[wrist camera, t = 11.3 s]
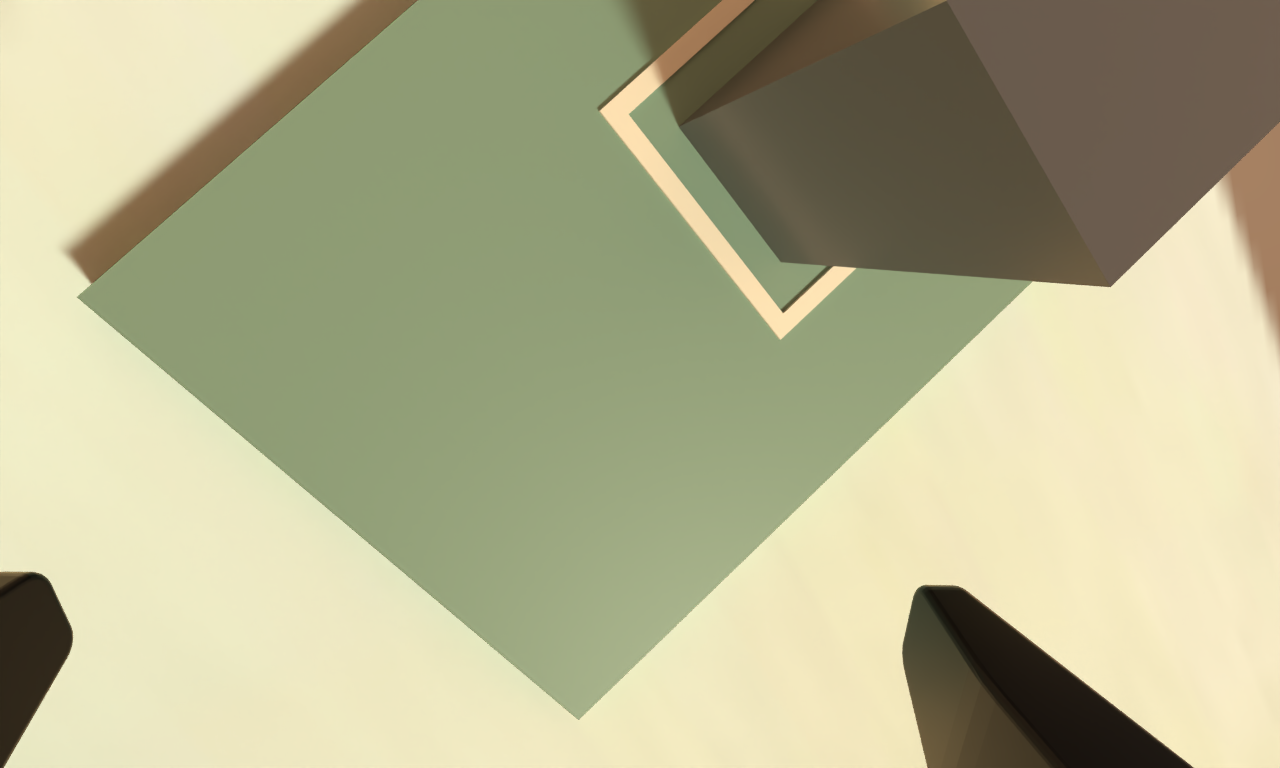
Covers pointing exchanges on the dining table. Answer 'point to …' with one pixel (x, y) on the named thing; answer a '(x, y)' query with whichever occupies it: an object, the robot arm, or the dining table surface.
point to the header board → (533, 321)
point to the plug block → (991, 130)
